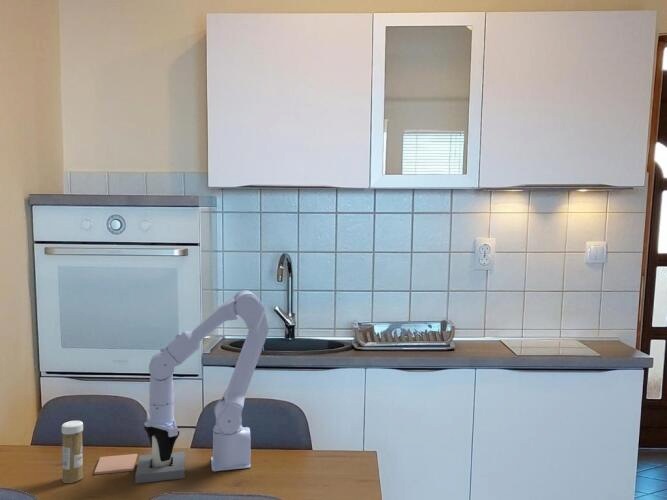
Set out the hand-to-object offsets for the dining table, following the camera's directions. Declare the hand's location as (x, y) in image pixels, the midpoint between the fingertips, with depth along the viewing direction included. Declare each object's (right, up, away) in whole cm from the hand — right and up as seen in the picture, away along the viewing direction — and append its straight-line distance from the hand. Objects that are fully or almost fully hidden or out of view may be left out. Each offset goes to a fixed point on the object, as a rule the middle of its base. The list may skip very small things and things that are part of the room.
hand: (161, 456), depth 129 cm
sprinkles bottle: (-19, -4, -5) cm, 20 cm away
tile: (-12, -3, +3) cm, 13 cm away
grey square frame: (0, -3, 0) cm, 3 cm away
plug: (0, -3, 0) cm, 3 cm away
